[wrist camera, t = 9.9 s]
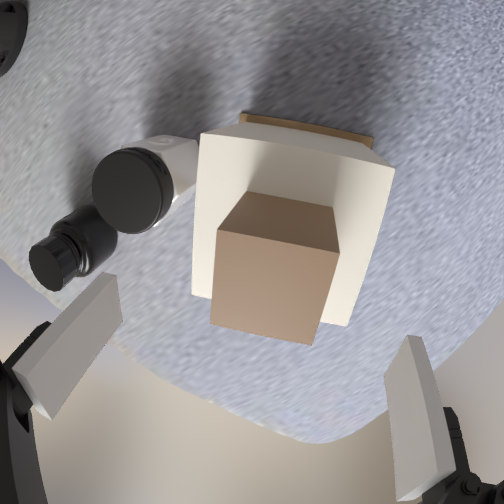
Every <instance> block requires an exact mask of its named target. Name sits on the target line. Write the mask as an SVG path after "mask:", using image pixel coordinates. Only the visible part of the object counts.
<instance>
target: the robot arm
mask: <svg viewBox="0 0 504 504" xmlns="http://www.w3.org/2000/svg"><path fill="white" fill-rule="evenodd" d="M26 28H27V12H26V9H25V7H24V5H23V4H22V3H20V2H13V1H7V2H3V3H0V77H1V76H3V75H4V74H5V73H7V71H8V70H9V69H10V68H11V67H12V65H13V64H14V62H15V60H16V58H17V57H18V54H19V52H20V50H21V47H22V45H23V41H24V38H25V34H26ZM122 322H123V320H122V313H121V307H120V300H119V293H118V286H117V278H116V275H112V274H109V273H105V272H102V273H101V274H100V275H99V276H98V277H97V278H96V279H95V280H94V281H93V282H92V283H91V284H90V285H89V286H88V287H87V288H86V289H85V290H84V291H83V292H82V293H81V294H80V295H79V296H78V297H77V298H76V299H75V300H74V301H73V302H72V303H71V304H70V305H69V306H68V307H67V308H66V309H65V310H64V311H63V312H62V313H61V314H60V315H59V316H58V317H57V318H56V320H55V321H54V322H53V323H50V322H48V321H46V322H44V323H43V324H41V325H40V326H37V327H36V328H35V329H34V330H33V332H32V333H31V334H30V336H28V337H27V338H26V339H25V340H24V342H23V343H21V345H19V347H18V348H17V349H16V350H15V351H14V352H13V353H12V354H11V355H10V357H9V358H8V359H7V360H6V361H5V362H4V363H3V364H2V362H1V361H0V504H48V502H47V498H46V494H45V490H44V486H43V481H42V477H41V473H40V467H39V462H38V457H37V450H36V444H35V437H34V430H33V421H32V413H31V410H30V408H31V406H32V405H34V407H35V408H36V410H37V411H38V413H40V414H42V415H43V416H45V417H47V418H48V419H50V420H53V418H54V417H55V415H56V414H57V413H58V411H59V410H60V408H61V407H62V405H63V404H64V402H65V401H66V399H67V398H68V396H69V395H70V393H71V392H72V390H73V389H74V388H75V386H76V385H77V383H78V382H79V380H80V379H81V378H82V376H83V375H84V373H85V372H86V370H87V369H88V368H89V366H90V365H91V364H92V362H93V361H94V359H95V358H96V357H97V355H98V354H99V353H100V351H101V350H102V348H103V347H104V346H105V344H106V343H107V342H108V340H109V339H110V338H111V336H112V335H113V334H114V332H115V331H116V330H117V328H118V327H119V326H120V324H121V323H122ZM384 381H385V388H386V395H387V402H388V409H389V417H390V426H391V434H392V445H393V455H394V469H395V485H396V501H405V500H414V499H416V498H417V497H419V496H420V495H422V499H423V501H421V502H420V503H418V504H504V480H503V481H502V482H500V483H499V484H497V485H493V484H487V483H482V482H481V480H480V478H479V477H478V476H477V475H476V474H474V473H472V472H470V469H469V465H468V459H467V455H466V451H465V446H464V441H463V439H462V433H461V430H460V425H459V421H458V417H457V416H456V414H455V413H454V411H453V410H452V408H451V407H442V403H441V399H440V395H439V391H438V388H437V384H436V381H435V377H434V374H433V371H432V367H431V364H430V361H429V358H428V355H427V352H426V349H425V346H424V343H423V340H422V337H419V336H411V335H407V336H406V338H405V340H404V342H403V343H402V345H401V347H400V349H399V351H398V353H397V354H396V356H395V358H394V360H393V361H392V363H391V365H390V366H389V368H388V370H387V372H386V373H385V375H384Z"/></svg>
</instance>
